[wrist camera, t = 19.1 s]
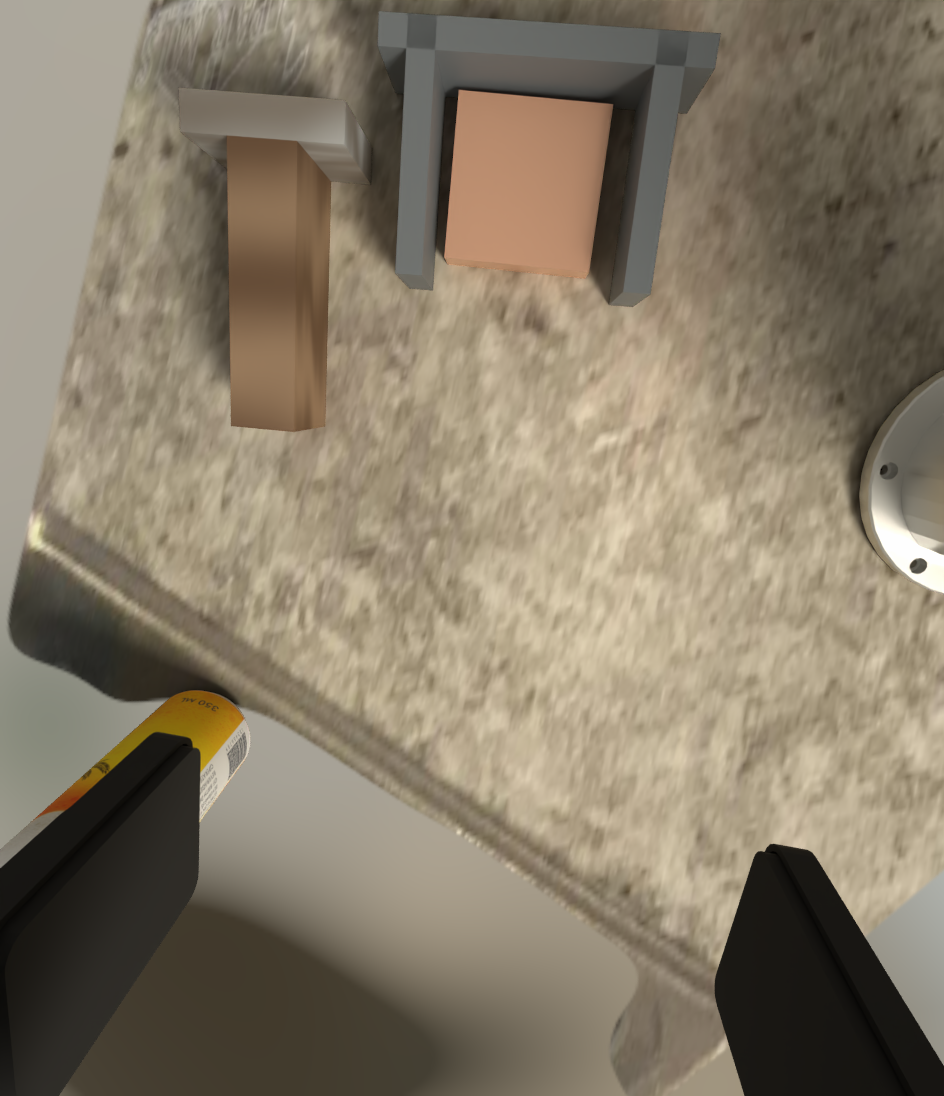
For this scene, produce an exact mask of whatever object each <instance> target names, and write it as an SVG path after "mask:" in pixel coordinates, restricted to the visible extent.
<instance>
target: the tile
mask: <svg viewBox="0 0 944 1096" xmlns="http://www.w3.org/2000/svg"><path fill="white" fill-rule="evenodd" d="M612 110H613V104H605V103H595V102H584V101H573V100H562V99H551V98H541V97H530V96H519V95H508V94H498V93H487V92H476V91H465V90H459V94H458V106H457V117H456V129H455V140H454V151H453V163H452V174H451V186H450V197H449V209H448V220H447V231H446V243H445V254H444V258H445V260H446V262H447V264H450V265H459V266H469V267H479V268H488V269H498V270H508V271H517V272H527V273H536V274H546V275H556V276H565V277H575V278H586V276H587V275H588V273H589V269H590V262H591V255H592V248H593V241H594V234H595V227H596V220H597V214H598V207H599V200H600V193H601V186H602V179H603V172H604V165H605V158H606V151H607V145H608V138H609V131H610V124H611V117H612Z"/></svg>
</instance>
